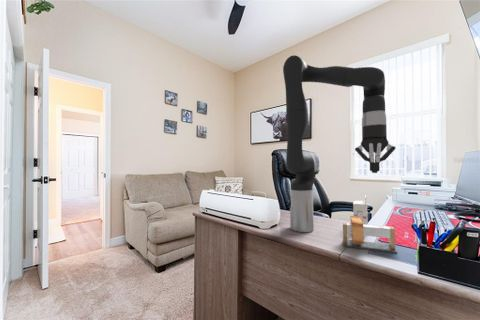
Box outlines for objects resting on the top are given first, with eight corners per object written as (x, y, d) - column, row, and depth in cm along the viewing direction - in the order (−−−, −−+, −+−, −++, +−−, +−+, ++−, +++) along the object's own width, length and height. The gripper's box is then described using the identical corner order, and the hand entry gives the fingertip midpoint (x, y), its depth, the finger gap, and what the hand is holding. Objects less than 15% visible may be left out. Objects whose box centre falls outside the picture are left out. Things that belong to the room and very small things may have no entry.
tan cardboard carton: (353, 243, 68) (352, 222, 68) (351, 233, 78) (350, 215, 78) (363, 244, 67) (363, 223, 67) (360, 234, 76) (359, 216, 77)
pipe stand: (343, 246, 71) (342, 225, 72) (342, 240, 77) (342, 221, 77) (397, 253, 65) (396, 230, 65) (392, 246, 71) (391, 225, 71)
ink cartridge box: (354, 226, 94) (353, 193, 95) (367, 228, 92) (366, 194, 92) (353, 231, 87) (352, 196, 87) (367, 233, 84) (366, 196, 85)
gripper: (354, 125, 76) (354, 173, 76) (398, 121, 70) (399, 173, 70) (352, 128, 83) (353, 172, 82) (393, 125, 77) (394, 172, 77)
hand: (374, 172), depth 76 cm, fingers closed
